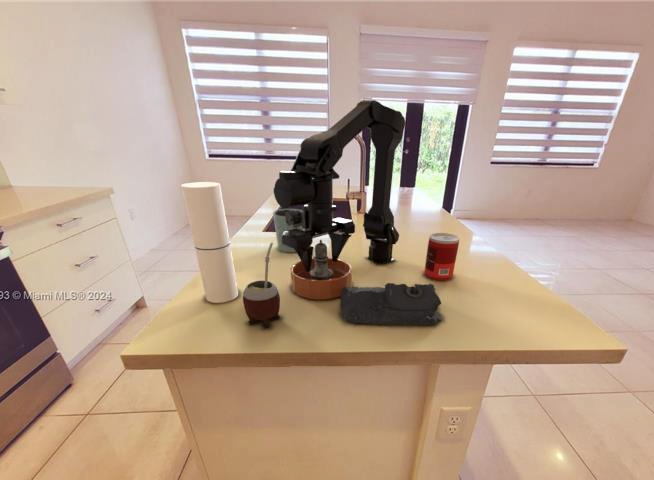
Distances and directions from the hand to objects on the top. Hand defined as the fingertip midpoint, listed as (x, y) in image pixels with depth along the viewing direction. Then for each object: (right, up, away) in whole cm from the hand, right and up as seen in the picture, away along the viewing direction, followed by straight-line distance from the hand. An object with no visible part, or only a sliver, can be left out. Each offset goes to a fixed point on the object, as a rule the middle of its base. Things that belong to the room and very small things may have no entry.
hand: (321, 266), depth 77 cm
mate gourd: (-11, -12, -12) cm, 20 cm away
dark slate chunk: (+16, -10, -6) cm, 20 cm away
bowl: (0, -5, +2) cm, 6 cm away
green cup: (-13, +8, +28) cm, 32 cm away
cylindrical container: (-23, -7, -3) cm, 24 cm away
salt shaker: (0, -5, +2) cm, 5 cm away
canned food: (+32, -2, +11) cm, 33 cm away
